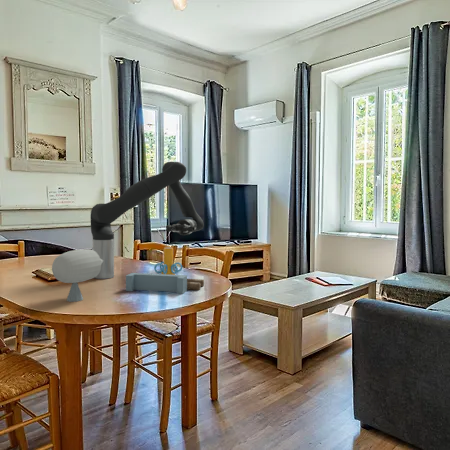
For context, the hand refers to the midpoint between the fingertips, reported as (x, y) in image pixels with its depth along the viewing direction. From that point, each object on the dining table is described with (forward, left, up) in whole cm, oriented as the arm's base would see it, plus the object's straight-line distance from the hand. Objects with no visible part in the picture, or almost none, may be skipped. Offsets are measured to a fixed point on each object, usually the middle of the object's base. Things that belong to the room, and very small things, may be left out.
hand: (176, 229), depth 183 cm
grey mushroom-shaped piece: (-22, -45, -22) cm, 54 cm away
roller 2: (+12, -22, -22) cm, 33 cm away
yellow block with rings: (0, -12, -22) cm, 25 cm away
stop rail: (0, -27, -22) cm, 35 cm away
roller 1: (+12, -16, -22) cm, 30 cm away
